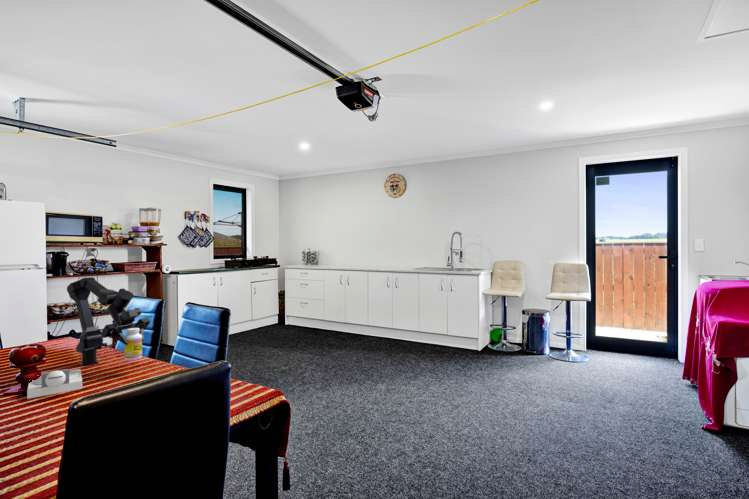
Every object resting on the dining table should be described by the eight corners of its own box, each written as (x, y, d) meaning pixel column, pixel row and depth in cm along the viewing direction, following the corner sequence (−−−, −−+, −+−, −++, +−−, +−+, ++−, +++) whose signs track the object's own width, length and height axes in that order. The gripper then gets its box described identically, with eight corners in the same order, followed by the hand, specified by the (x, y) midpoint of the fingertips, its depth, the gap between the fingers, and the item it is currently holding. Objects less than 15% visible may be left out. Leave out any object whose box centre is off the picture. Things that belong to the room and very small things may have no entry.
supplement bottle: (133, 361, 169) (133, 330, 169) (120, 360, 170) (120, 330, 170) (146, 356, 175) (145, 327, 175) (133, 356, 177) (132, 327, 177)
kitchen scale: (30, 384, 160) (30, 363, 160) (80, 375, 170) (80, 355, 170) (27, 399, 143) (26, 375, 143) (82, 389, 153) (82, 367, 153)
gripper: (104, 305, 166) (121, 334, 161) (147, 300, 183) (163, 326, 178) (93, 323, 170) (109, 352, 165) (137, 316, 186) (152, 342, 181)
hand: (135, 342), depth 172 cm, fingers closed on supplement bottle, 7 cm apart
